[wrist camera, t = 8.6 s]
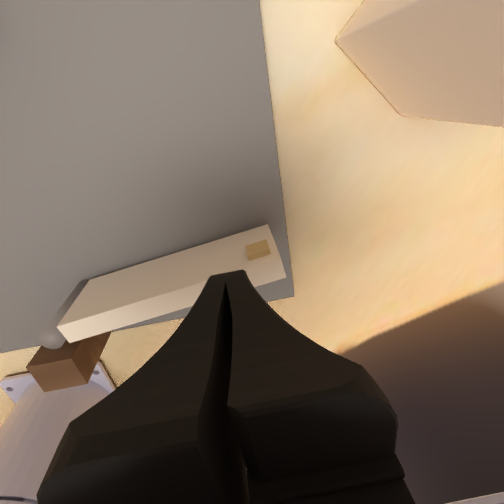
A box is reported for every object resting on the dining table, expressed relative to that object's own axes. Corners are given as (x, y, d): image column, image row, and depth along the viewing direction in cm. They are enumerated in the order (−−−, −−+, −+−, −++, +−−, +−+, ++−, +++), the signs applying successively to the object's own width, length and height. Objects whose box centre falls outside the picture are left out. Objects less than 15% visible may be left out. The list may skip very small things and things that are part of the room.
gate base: (291, 288, 23) (294, 296, 22) (5, 343, 23) (-3, 353, 22) (247, -70, 14) (248, -82, 13) (-237, 17, 14) (-268, 12, 13)
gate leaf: (85, 301, 20) (50, 355, 16) (70, 280, 20) (29, 331, 15) (273, 243, 20) (288, 283, 15) (266, 218, 19) (279, 254, 15)
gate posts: (117, 319, 22) (87, 384, 17) (83, 325, 22) (44, 392, 17) (-47, -22, 13) (-210, -93, 8) (-104, -11, 13) (-301, -77, 8)
